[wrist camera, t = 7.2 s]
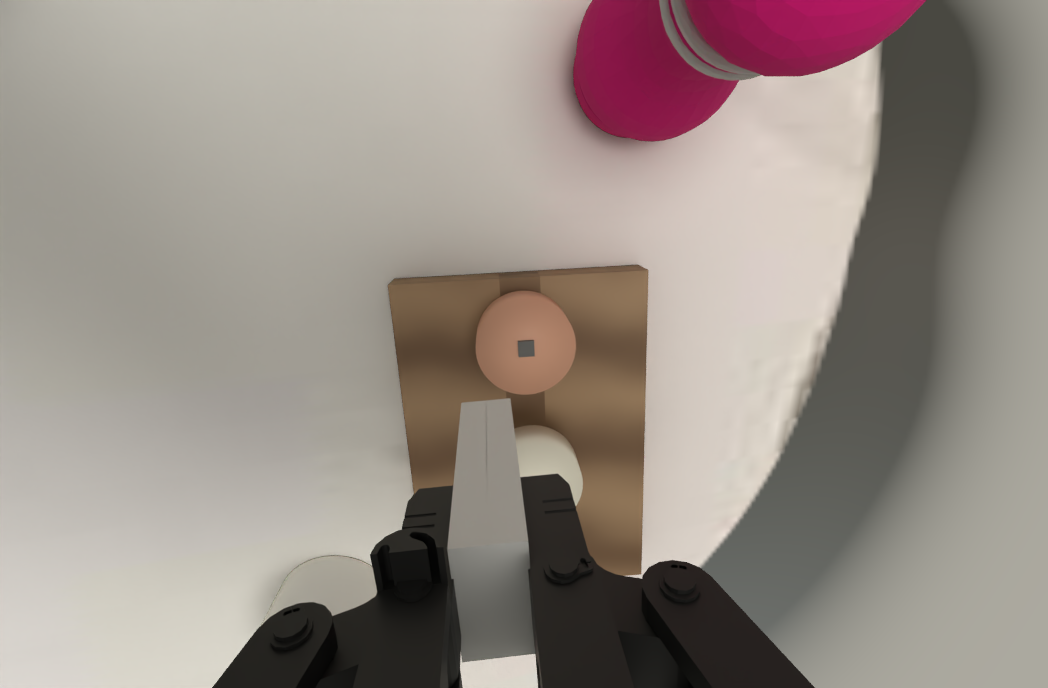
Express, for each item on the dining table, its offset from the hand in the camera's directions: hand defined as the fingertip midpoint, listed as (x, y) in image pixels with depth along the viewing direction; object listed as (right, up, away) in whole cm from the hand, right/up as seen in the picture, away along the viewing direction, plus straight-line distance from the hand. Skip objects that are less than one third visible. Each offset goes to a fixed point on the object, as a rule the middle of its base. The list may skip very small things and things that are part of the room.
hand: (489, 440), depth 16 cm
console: (+1, -2, +16) cm, 17 cm away
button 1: (+1, +4, +14) cm, 14 cm away
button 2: (+1, -3, +14) cm, 15 cm away
